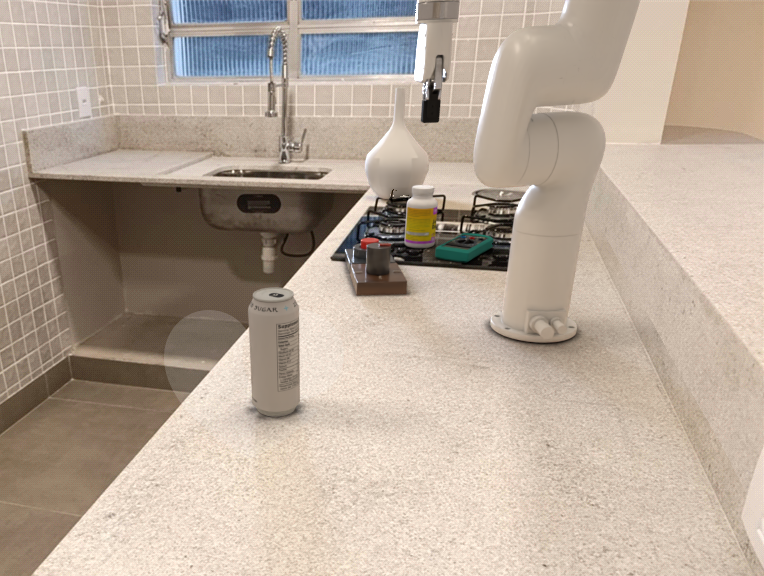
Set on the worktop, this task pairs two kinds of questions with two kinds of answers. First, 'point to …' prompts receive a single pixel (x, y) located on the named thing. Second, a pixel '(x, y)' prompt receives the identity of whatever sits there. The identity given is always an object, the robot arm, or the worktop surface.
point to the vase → (396, 158)
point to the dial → (378, 258)
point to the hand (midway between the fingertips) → (429, 122)
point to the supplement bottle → (421, 217)
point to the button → (368, 242)
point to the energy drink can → (274, 351)
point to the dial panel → (378, 281)
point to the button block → (358, 256)
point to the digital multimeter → (464, 247)
